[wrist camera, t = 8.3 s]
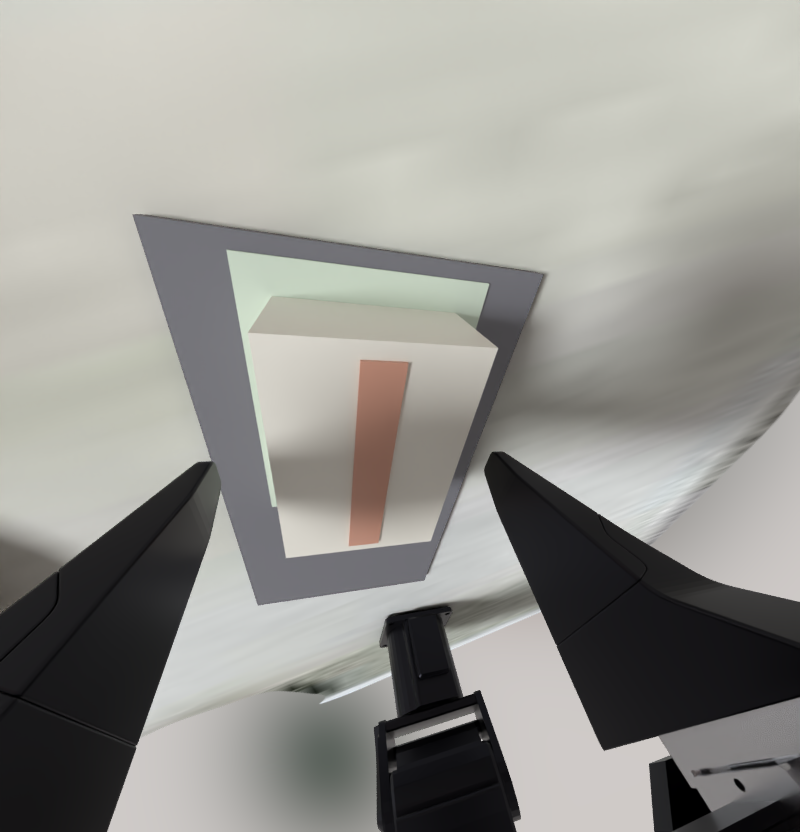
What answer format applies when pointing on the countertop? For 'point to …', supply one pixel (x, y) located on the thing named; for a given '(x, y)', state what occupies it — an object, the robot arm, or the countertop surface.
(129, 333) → the countertop surface
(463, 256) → the countertop surface
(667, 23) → the countertop surface
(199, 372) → the mat
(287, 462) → the card box
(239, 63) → the countertop surface
